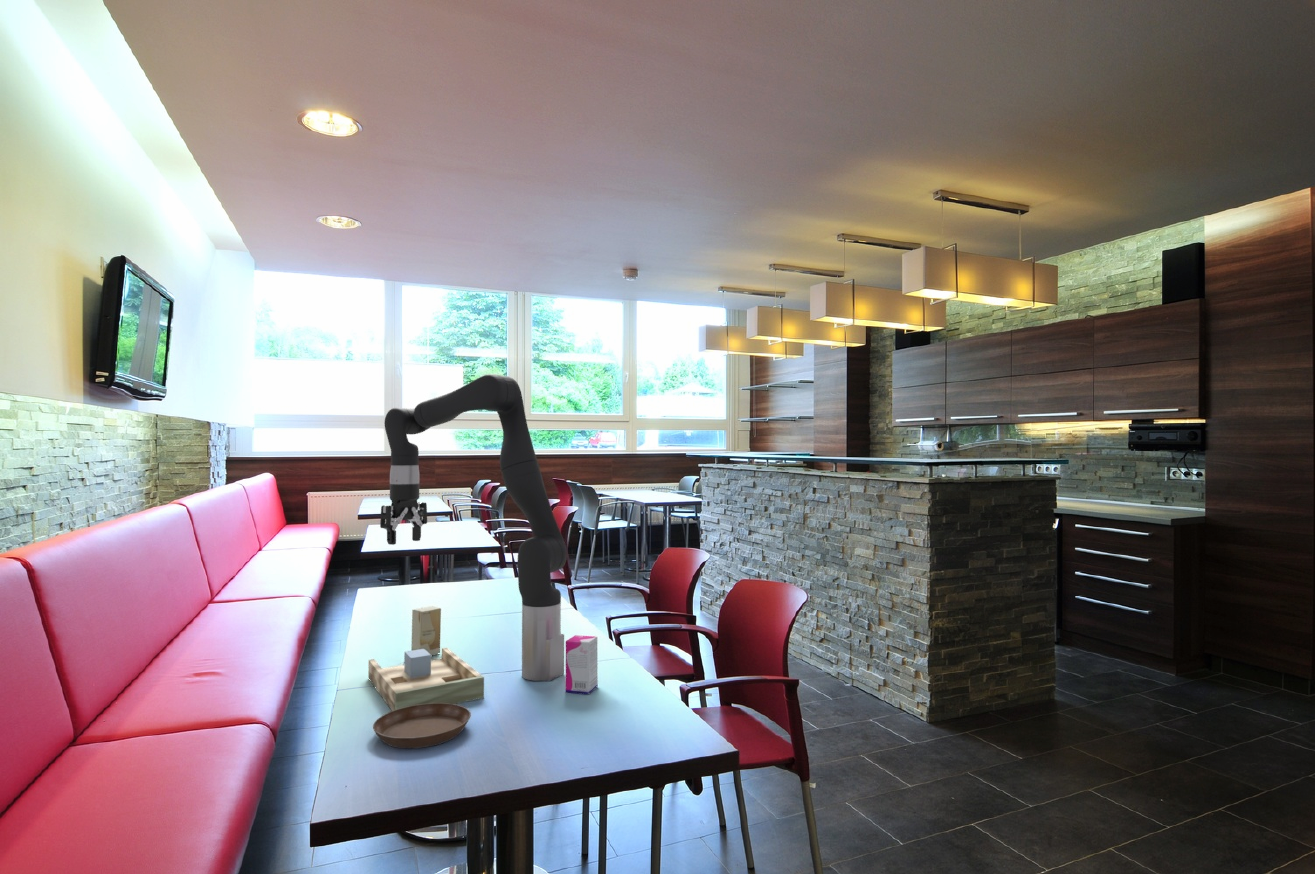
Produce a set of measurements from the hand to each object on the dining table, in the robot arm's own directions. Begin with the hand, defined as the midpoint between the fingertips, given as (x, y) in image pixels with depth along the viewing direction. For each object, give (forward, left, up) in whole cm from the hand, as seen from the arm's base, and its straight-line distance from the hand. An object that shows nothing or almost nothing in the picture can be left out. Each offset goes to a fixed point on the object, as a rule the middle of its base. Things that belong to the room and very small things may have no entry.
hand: (404, 542), depth 187 cm
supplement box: (-59, +4, -29) cm, 66 cm away
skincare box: (-8, 0, -29) cm, 30 cm away
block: (-21, +16, -27) cm, 38 cm away
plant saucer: (-45, +38, -30) cm, 66 cm away
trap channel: (-26, +19, -29) cm, 43 cm away
